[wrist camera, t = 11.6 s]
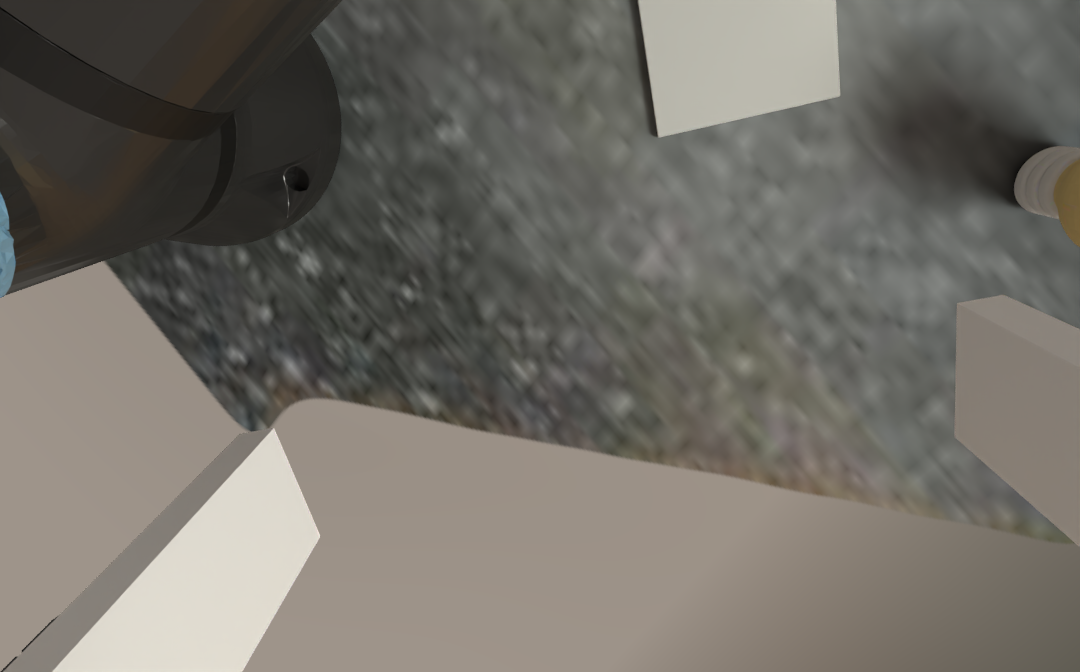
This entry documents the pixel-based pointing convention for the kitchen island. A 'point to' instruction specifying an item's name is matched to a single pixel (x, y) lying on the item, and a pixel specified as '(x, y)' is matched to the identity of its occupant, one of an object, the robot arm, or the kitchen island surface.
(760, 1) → the mat
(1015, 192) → the light bulb
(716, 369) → the kitchen island surface
